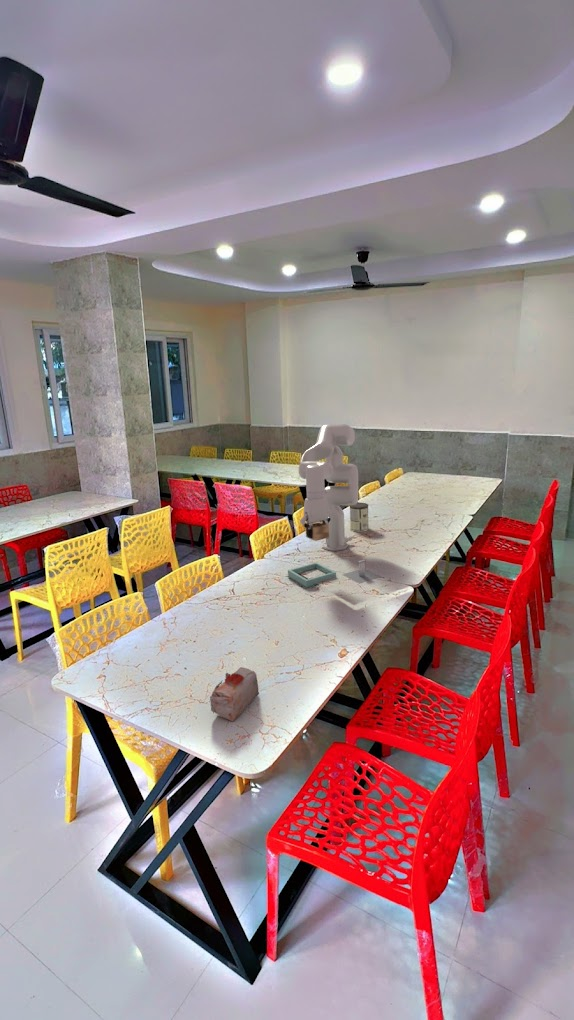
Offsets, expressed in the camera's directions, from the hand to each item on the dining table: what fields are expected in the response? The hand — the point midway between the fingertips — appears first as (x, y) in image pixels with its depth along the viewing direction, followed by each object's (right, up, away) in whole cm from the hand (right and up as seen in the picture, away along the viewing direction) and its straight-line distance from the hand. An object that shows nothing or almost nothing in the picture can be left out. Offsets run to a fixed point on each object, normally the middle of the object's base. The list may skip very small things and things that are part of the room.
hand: (317, 535), depth 214 cm
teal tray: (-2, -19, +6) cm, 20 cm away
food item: (-27, -43, -77) cm, 92 cm away
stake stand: (+19, -19, +3) cm, 27 cm away
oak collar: (0, -1, 0) cm, 1 cm away
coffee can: (+28, 0, +70) cm, 76 cm away
